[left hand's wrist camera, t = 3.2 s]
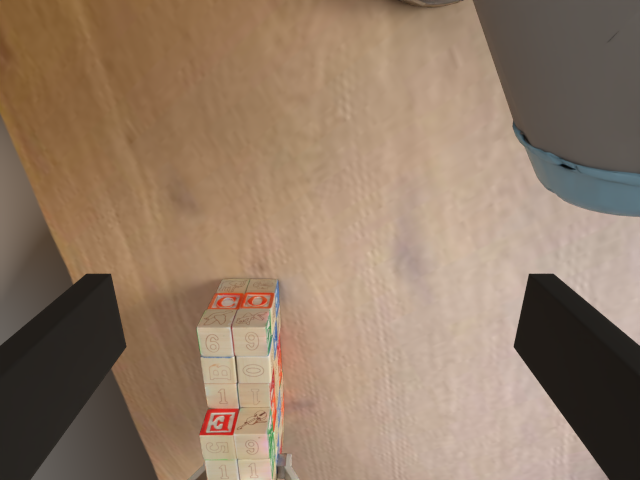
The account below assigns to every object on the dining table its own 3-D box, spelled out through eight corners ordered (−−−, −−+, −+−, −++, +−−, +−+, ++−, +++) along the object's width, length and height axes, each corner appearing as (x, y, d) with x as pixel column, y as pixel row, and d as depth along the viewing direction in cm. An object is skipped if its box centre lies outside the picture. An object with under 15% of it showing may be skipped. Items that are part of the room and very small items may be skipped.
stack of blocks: (220, 277, 43) (184, 348, 32) (279, 277, 43) (264, 348, 32) (235, 428, 51) (211, 529, 40) (285, 428, 51) (275, 529, 40)
